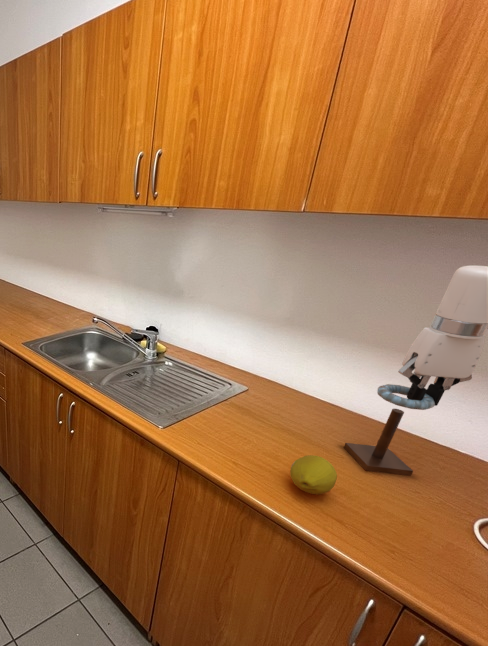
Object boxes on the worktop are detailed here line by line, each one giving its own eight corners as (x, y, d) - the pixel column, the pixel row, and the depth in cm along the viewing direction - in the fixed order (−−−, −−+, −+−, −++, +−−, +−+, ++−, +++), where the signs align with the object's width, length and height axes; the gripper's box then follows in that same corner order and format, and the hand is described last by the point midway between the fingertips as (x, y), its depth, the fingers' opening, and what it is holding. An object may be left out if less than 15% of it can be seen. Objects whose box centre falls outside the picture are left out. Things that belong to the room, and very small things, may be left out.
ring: (412, 392, 93) (415, 385, 93) (444, 413, 85) (448, 405, 84) (366, 388, 95) (369, 381, 95) (393, 408, 87) (396, 401, 86)
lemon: (300, 470, 94) (310, 443, 91) (339, 491, 88) (351, 462, 85) (274, 486, 90) (284, 457, 87) (313, 509, 83) (325, 480, 80)
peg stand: (384, 451, 100) (407, 402, 94) (410, 476, 92) (437, 423, 86) (343, 447, 102) (363, 399, 96) (365, 470, 94) (388, 419, 88)
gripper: (489, 322, 84) (450, 397, 91) (399, 317, 87) (368, 390, 95) (524, 335, 77) (479, 414, 84) (425, 329, 81) (390, 406, 88)
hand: (421, 401), depth 89 cm, fingers closed on ring, 2 cm apart
